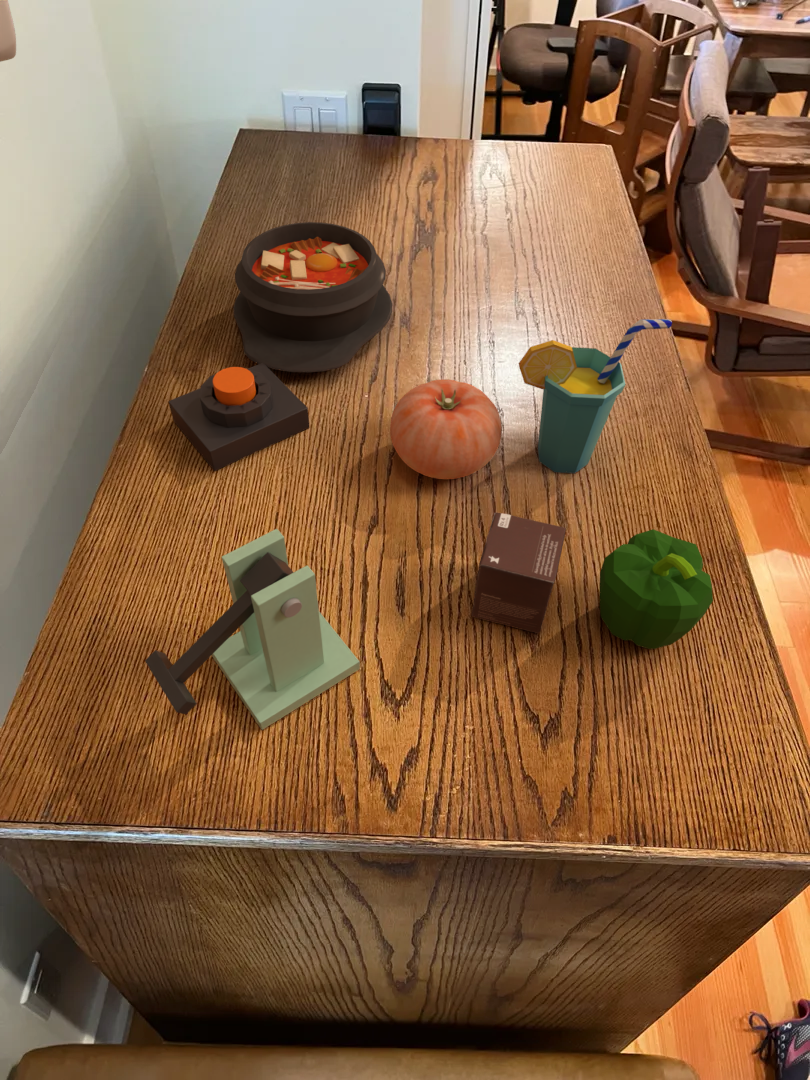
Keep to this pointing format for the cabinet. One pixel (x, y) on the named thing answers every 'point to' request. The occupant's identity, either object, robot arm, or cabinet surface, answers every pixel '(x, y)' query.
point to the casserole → (309, 296)
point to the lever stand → (280, 639)
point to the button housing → (239, 419)
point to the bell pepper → (653, 589)
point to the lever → (213, 635)
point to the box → (517, 571)
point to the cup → (576, 395)
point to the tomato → (445, 429)
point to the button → (234, 386)
